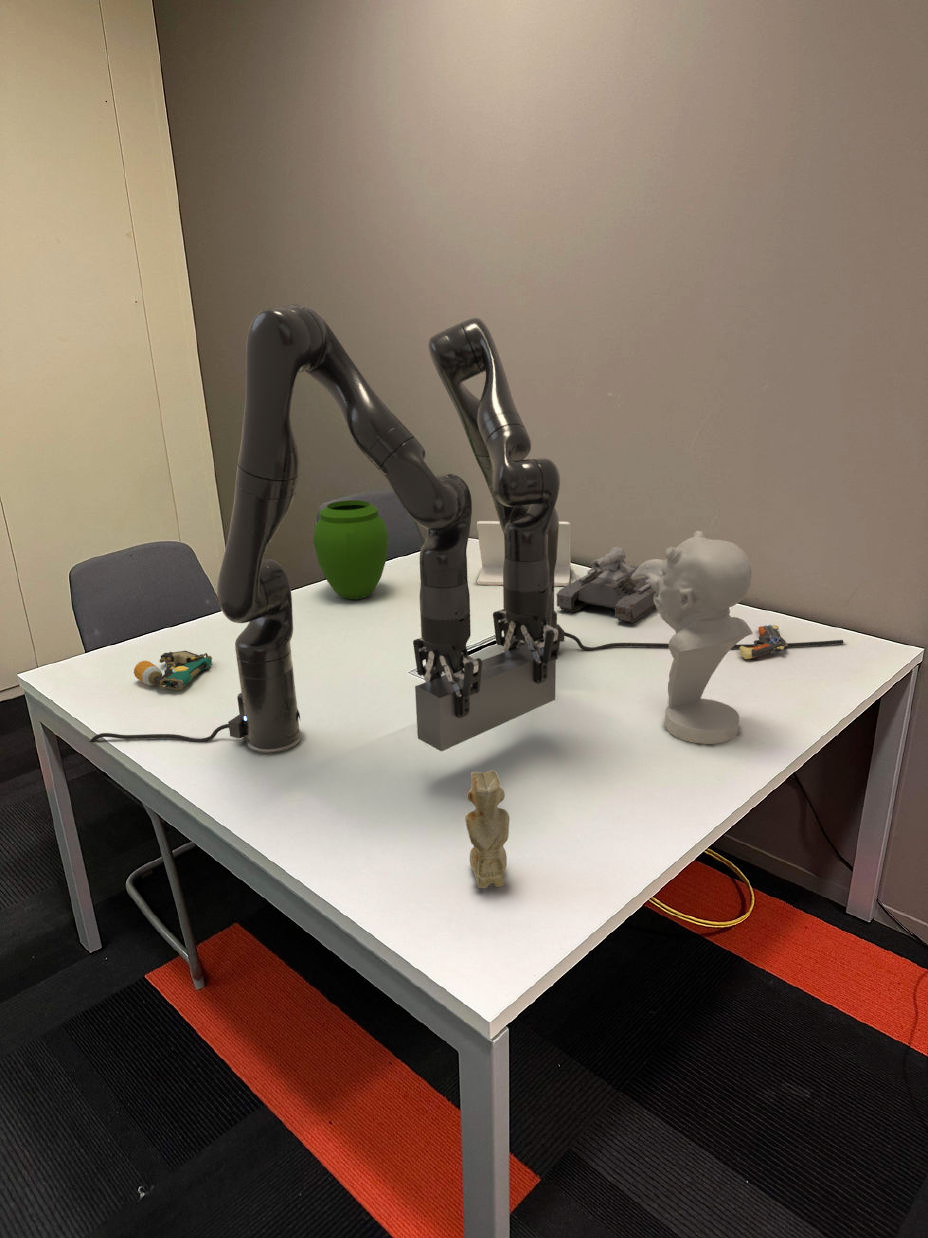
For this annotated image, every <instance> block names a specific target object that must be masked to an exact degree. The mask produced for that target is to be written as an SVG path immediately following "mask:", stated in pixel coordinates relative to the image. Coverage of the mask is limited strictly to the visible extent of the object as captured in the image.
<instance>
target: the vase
mask: <svg viewBox="0 0 928 1238" xmlns="http://www.w3.org/2000/svg"><path fill="white" fill-rule="evenodd" d="M385 521H386V520H384V519H383V518H382V517H381V516H380V515H379V509H378V508H377V507H376V506H375V505H374V504H371V503H370V502H368V501H365V500H355V499H354V500H340V501H335V502H331V503H329V504H327V505H326V506H325V507H324V508H322V510H320V511H319V519H318V520H317V522H316V523H315V525H314V531H313V539H312V542H313V546H314V550H315V554H316V559H317V562H318V564H319V567H320V568H321V571H322V573H323V575H324V578H325V579H326V582H327V583H328V585H330V587H331V588H332V590H333V591H334V592H335V593H336V594H337V595H338V596H339V597H340V598H343V599H345V600H353V601H354V600H362V599H365V598H367V597H368V596H370V595H372V594H373V592H374V591H375V590H376V588H377V586H378V584H379V582H380V580H381V578H382V576H383V573H384V568H385V565H386V563H387V557H388V550H389V549H388V547H389V532H388V529H387V525H386V522H385Z"/></svg>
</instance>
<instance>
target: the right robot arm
mask: <svg viewBox="0 0 928 1238" xmlns="http://www.w3.org/2000/svg"><path fill="white" fill-rule="evenodd" d="M427 348H428V352H429V357H430V358H431V362H432V364H433V366H434V368H435V370H436V372H437V374H438V376H439V379H440V380H441V382H442V384H443V387H444V388H445V390H446V392H447V394H448V397H449V398H450V400H451V403H452V405H453V406H454V409H455V410H456V412H457V415H458V417H459V419H460V422H461V425H462V426H463V429H464V433H465V434H466V435H465V436H466V437H467V440H468V443H469V445H470V448H471V450H472V453H473V456H474V457H475V460H476V463H477V464H478V466H479V469H480V470H481V472H482V475H483V478H484V480H485V482H486V485H487V488H488V490H489V493H490V495H491V498H492V501H493V504H494V508H495V511H496V515H497V518H498V521H499V522H500V525H501V528H502V531H503V533H504V555H505V556H504V566H503V585H502V587H503V588H502V592H503V595H502V596H503V597H502V598H503V599H502V600H503V603H502V604H503V608H502V609H499V610H497V611H496V610H495V611H493V612H492V618H493V627H494V635H495V643H496V645H497V646H501V647H502V648H503V651H504V652H506V651H508V650H511V649H514V648H516V647H519V646H521V645H524V644H527V646H528V649H529V651H531V652H532V654H533V657H534V660H535V663H534V682H535V683H537V684H540V683H542V682H544V681H545V680H546V679H547V677H548V674H547V673H548V672H547V671H548V663H549V662H552V661H554V660H556V661H557V660H558V659H559V652H560V647H561V643H562V642H565V637H566V638H569V639H572V640H574V641H575V642H576V644H577V645H578V647H579V648H580V649H581V650H582V651H586V652H593V651H600V650H605V649H609V648H618V647H637V648H640V647H641V648H669V642H668V643H667V642H665V643H663V642H660V643H659V642H611V643H606V644H602V645H599V646H594V647H590V646H586V645H583V644H582V641H581V640H580V638H579V637H577V636H576V635H574V634H572V633H568V632H566V631H565V630H564V629H563V628H562V627H561V625H560V624H559V623H558V613H557V612H556V611H555V586H554V571H555V566H556V562H557V547H558V533H559V522H560V520H559V514H558V511H557V509H556V505H557V501H558V497H559V494H560V489H561V475H560V471H559V469H558V466H557V465H556V464H555V463H554V461H552V460H551V459H550V458H547V457H538V458H537V457H536V458H528V459H526V458H527V457H528V455H530V453H531V450H532V442H531V441H532V440H531V436H530V435H529V433H528V431H527V429H526V426H525V425H524V422H523V420H522V418H521V416H520V414H519V412H518V409H517V406H516V404H515V401H514V399H513V395H512V391H511V388H510V385H509V381H508V377H507V374H506V372H505V369H504V365H503V363H502V359H501V357H500V354H499V351H498V348H497V345H496V342H495V340H494V338H493V336H492V334H491V332H490V330H489V328H488V326H487V324H486V323H485V322H484V321H483V320H482V319H481V318H479V317H472V318H469V319H466V320H464V321H461V322H459V323H457V324H455V325H453V326H450V327H448V328H445V329H444V330H442V331H440V332H437V333H436V334H434V335H433V336H431V337H430V338H429V340H428V346H427ZM483 373H485V380H484V385H483V389H482V393H481V396H480V399H479V397H477V396H475V394H473V393H472V392H471V390H469V389H468V388H467V387H466V385H465V384H464V383H463V382H466V381H468V380H470V379H473V378H474V377H477V376H479V375H481V374H483ZM534 643H536V645H535V644H534ZM786 644H787V645H788V646H784V648H794V647H795V648H797V647H811V646H812V647H814V646H829V645H842V644H844V640H843V639H836V640H835V639H834V640H823V641H822V640H820V641H805V642H790V643H789V642H788V643H787V642H786ZM753 645H754V643H752V644H751V643H750V644H748V643H747V644H742V643H741V644H736V645H735V646H733V647H732V648H731V649H740V647H741V646H744V647H753ZM757 645H763V644H757ZM539 649H540V650H541V653H542V655H540V653H539Z"/></svg>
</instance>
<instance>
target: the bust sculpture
mask: <svg viewBox="0 0 928 1238" xmlns="http://www.w3.org/2000/svg"><path fill="white" fill-rule="evenodd" d="M664 554H665V559H660V558H653V559H648V560H645V561H644V562H642V563H641V564H640V565H639V566H638V567H639V568H638V569H637V570H636V571H635V573H634V574H633V575H632V576H631V578H632V579H634V580H635V579H640V578H644V577H647V578H649V579H650V583H651V587H652V589H653V590H654V591H655V592H656V593H655V594H654V597H653V600H654V604H655V605H656V607H655V608H656V611H657V612H658V614H659V615H660V618H661V619H662V620H663V622H665V623H666V624H667V625H668V626H669V627H670V628H671V629H672V630H673V631H675V634H673V635H672V636H671V638H669V641H668V644H669V647H668V649H669V653H670V654H671V657H672V658H673V660H672V663H671V666H670V669H669V673H668V682H667V694H668V696H667V697H668V700H667V705H668V706H666V708H665V718H664V726H665V728H666V730H667V731H668V732H669V733H670V734H671V735H673V736H675V737H676V738H679V739H680V740H683V741H687V742H691V743H696V744H703V745H713V744H721V743H726V742H729V741H731V740H733V739H734V738H736V736H738V733H739V729H740V728H739V727H740V715H739V714H740V713H738V711H737V710H736V709H735V708H734V707H732V706H730V705H728V704H727V703H724V702H721V701H719V700H714V699H709V698H702V696H703V695H704V694H703V693H704V692H705V690H706V687H707V685H708V684H709V681H710V680H711V678H712V676H713V674H714V673H715V671H716V670H717V668H718V667H719V665H720V664H721V662H722V661H723V660H724V658H725V656H726V655H727V654H728V653H729V652H730V651H731V650H732V649H733V648H732V647H733V646H735V645H738V643H739V642H741V641H742V640H743V639H745V638H747V637H749V636H751V635H753V634H754V632H753V630H752V629H751V628H750V626H749V624H748V623H747V622H746V621H745V620H744V619H743V618H740V617H737V616H731V614H730V613H731V610H730V608H732V607H734V606H736V605H737V604H739V603H740V602H741V601H742V600H744V599H745V597H746V595H747V594H748V592H749V590H750V586H751V583H752V574H753V573H752V572H753V571H752V565H751V561H750V559H749V557H748V555H747V554H746V552H745V551H744V550H743V549H742V548H741V547H740V546H739V545H737V544H736V543H734V542H731V541H728V540H723V539H711V538H707V536H706V534H705V532H703V530H696V531H694V533H693V536H691V537H689V538H687V539H684V541H682V542H681V543H679V544H678V545H677V546H675V547H674V546H669V547H667V548H666V551H665V553H664Z"/></svg>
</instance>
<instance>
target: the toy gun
mask: <svg viewBox="0 0 928 1238" xmlns="http://www.w3.org/2000/svg"><path fill="white" fill-rule="evenodd" d="M779 630H780V627H779V626H778V625H777V624H768V625H766V624H765V625H763V626H762V625H761V626H759V627H758V633H759V636H758V639H756V640H754V641H753V644H754V645H753V647H744V646H741V647H740V648H739V653H740V655H741V657H742V658H743V659H745V660H750V659H753V658H756V657H760V656H764V655H766V654H771V653H773V652H775V651H778V650H781V651H783V650H784V649H785V647H784V646H788V645H787V644H786V643H787V641H786V639H784V638H783V637H782V636H781V635H780V632H779ZM757 644H763V645H757Z"/></svg>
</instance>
